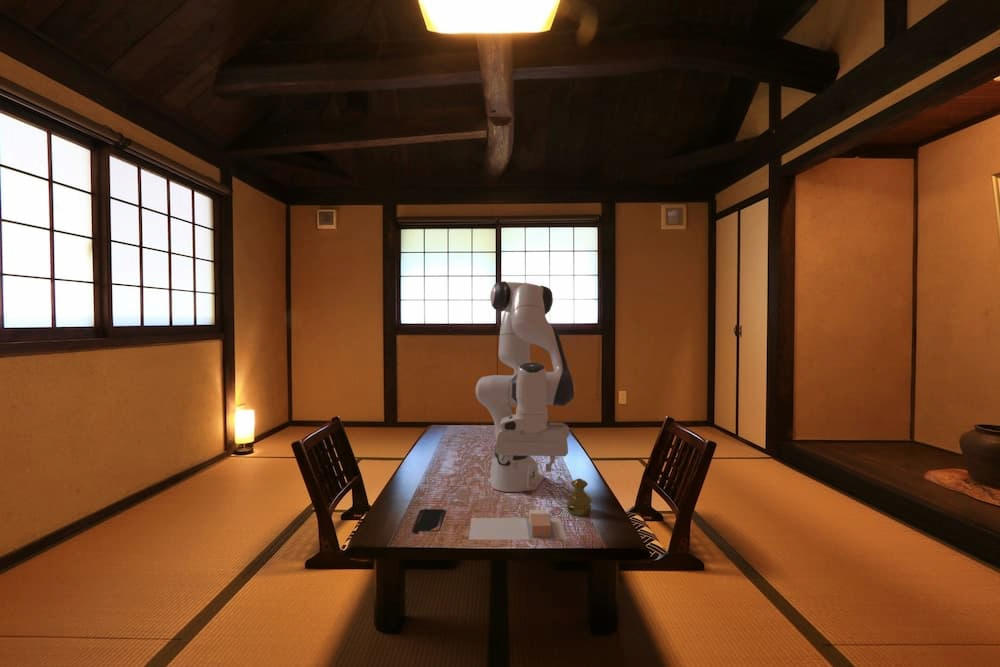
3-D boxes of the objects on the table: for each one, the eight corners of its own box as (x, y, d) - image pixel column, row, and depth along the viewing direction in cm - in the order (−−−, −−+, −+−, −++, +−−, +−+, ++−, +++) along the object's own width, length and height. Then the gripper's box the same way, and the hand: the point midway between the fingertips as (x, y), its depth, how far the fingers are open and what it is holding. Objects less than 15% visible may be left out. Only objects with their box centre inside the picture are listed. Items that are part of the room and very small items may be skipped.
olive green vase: (578, 518, 145) (578, 485, 145) (562, 510, 152) (562, 478, 151) (596, 513, 149) (596, 480, 149) (580, 505, 155) (580, 474, 155)
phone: (446, 509, 150) (439, 530, 135) (446, 513, 150) (439, 534, 135) (420, 509, 150) (410, 530, 135) (420, 512, 150) (410, 534, 135)
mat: (471, 520, 144) (471, 517, 144) (560, 520, 144) (560, 517, 144) (468, 541, 130) (468, 539, 130) (566, 541, 130) (566, 539, 130)
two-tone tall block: (550, 536, 131) (550, 525, 131) (532, 536, 131) (532, 525, 131) (546, 519, 142) (546, 509, 142) (529, 519, 142) (529, 509, 142)
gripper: (568, 419, 139) (567, 467, 140) (496, 418, 141) (496, 466, 141) (570, 425, 133) (569, 475, 134) (494, 424, 134) (494, 473, 135)
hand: (531, 470), depth 138 cm, fingers open, 8 cm apart
